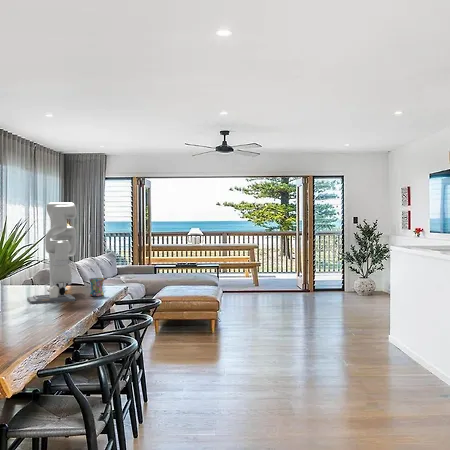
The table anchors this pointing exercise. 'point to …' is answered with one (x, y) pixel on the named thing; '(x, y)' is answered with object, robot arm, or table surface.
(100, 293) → the mug
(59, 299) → the switch bank
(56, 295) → the tab
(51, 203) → the robot arm
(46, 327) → the table surface
